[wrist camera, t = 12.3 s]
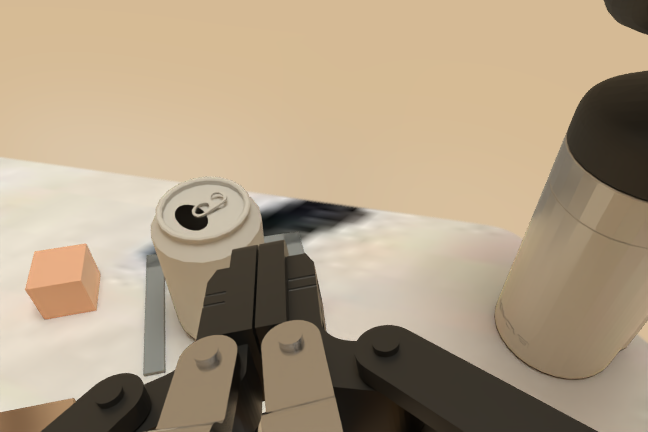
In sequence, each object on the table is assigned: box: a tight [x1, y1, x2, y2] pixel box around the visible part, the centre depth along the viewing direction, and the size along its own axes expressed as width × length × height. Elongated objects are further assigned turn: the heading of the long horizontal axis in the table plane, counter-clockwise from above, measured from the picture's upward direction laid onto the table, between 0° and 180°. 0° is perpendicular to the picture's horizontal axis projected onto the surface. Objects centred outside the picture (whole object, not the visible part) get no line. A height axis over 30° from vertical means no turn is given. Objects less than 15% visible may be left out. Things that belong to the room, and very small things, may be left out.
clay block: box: [25, 244, 100, 319], centre depth 41 cm, size 4×4×4 cm
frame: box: [143, 231, 304, 376], centre depth 42 cm, size 14×12×1 cm
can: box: [151, 177, 264, 339], centre depth 37 cm, size 8×8×12 cm
